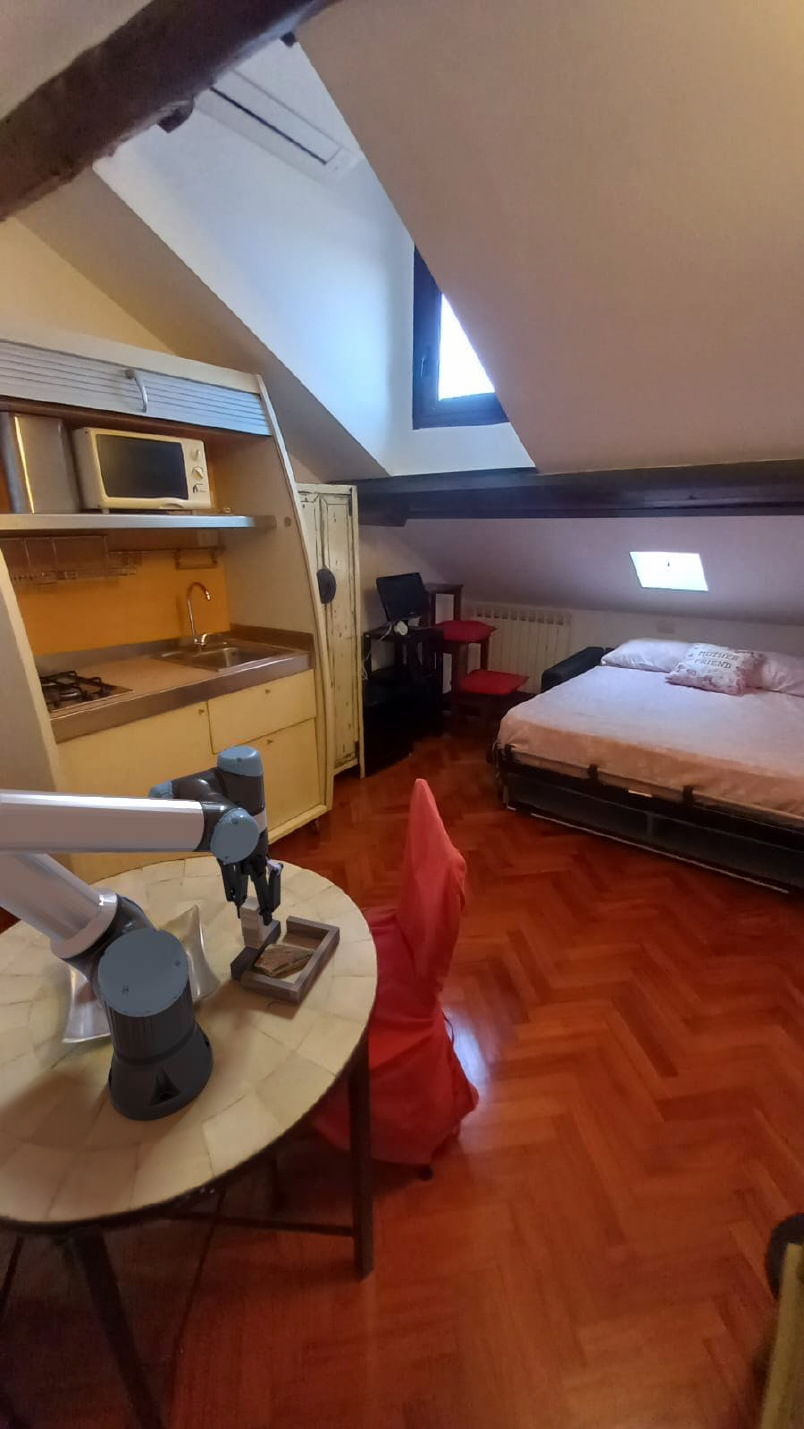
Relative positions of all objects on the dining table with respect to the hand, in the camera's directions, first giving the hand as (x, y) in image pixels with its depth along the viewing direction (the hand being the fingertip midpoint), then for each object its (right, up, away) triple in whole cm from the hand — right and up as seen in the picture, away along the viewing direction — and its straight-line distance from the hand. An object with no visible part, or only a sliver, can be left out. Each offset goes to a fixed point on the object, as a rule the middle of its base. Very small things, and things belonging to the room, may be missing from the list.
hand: (256, 934), depth 116 cm
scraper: (0, -4, +1) cm, 5 cm away
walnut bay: (+8, -5, -1) cm, 9 cm away
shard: (+5, -5, +1) cm, 7 cm away
